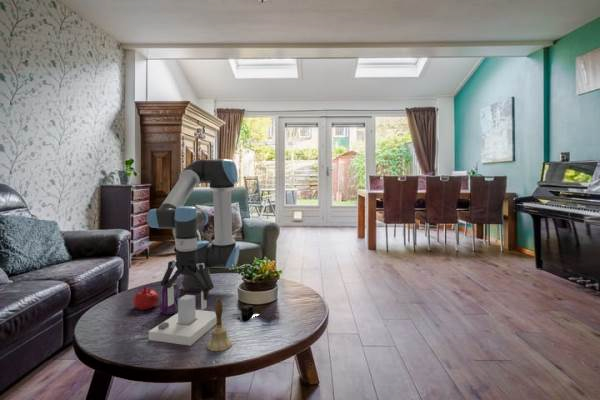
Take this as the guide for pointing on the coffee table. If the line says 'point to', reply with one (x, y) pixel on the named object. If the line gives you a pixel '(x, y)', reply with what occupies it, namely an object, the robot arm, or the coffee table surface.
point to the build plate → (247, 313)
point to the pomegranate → (145, 299)
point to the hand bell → (219, 332)
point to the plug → (186, 310)
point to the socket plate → (183, 329)
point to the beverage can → (164, 300)
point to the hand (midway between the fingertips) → (187, 306)
